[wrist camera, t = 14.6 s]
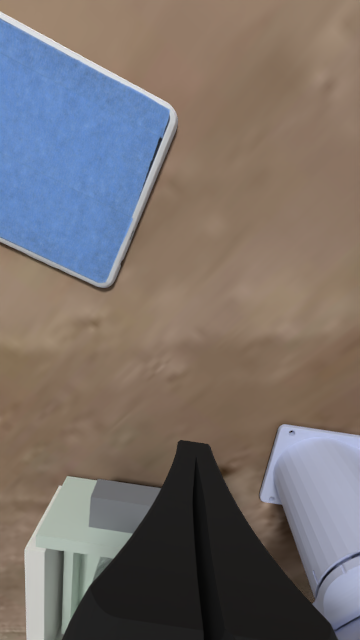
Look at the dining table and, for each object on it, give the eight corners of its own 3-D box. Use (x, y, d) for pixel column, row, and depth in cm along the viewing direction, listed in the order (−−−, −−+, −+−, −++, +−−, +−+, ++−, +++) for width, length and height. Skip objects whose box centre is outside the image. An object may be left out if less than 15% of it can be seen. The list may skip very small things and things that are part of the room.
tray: (213, 471, 24) (219, 531, 19) (182, 611, 29) (180, 687, 24) (68, 449, 24) (35, 503, 19) (63, 593, 29) (36, 665, 24)
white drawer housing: (213, 508, 25) (220, 595, 19) (187, 617, 30) (186, 717, 23) (59, 485, 25) (16, 564, 19) (56, 597, 30) (20, 692, 23)
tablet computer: (183, 116, 17) (183, 106, 16) (112, 291, 21) (107, 294, 19) (-116, -44, 16) (-142, -70, 14) (-141, 173, 19) (-165, 168, 18)
